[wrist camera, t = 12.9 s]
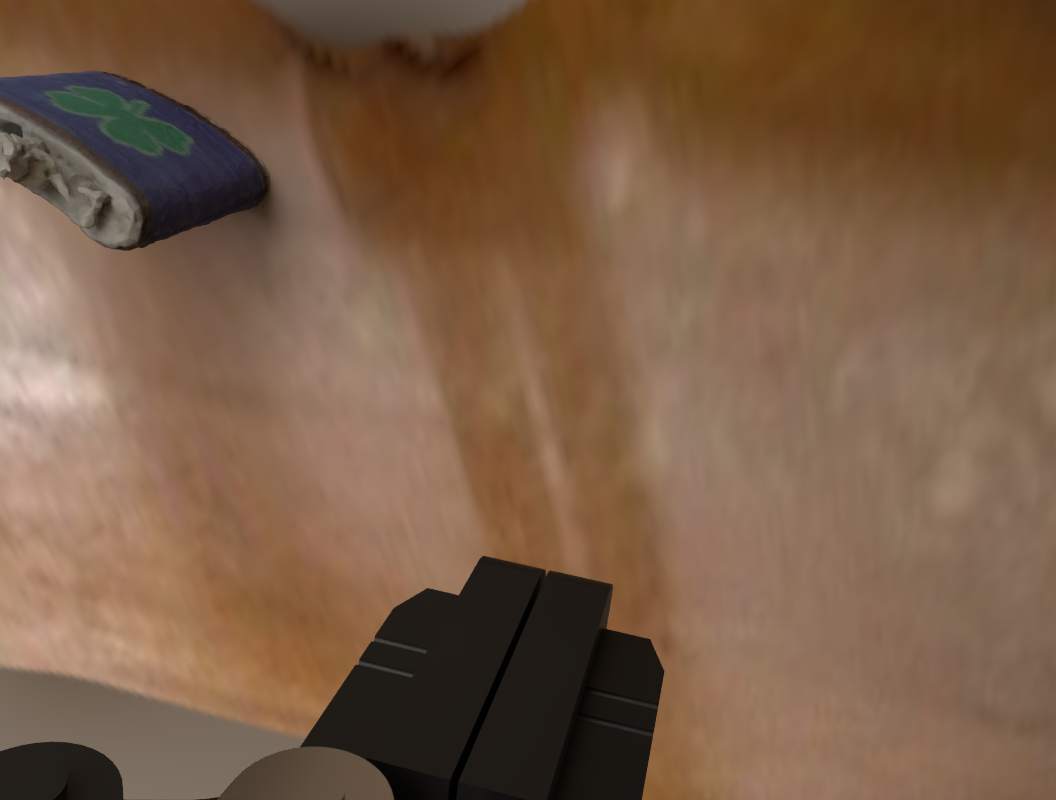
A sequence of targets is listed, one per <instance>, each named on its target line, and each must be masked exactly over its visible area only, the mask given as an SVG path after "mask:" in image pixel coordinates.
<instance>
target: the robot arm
mask: <svg viewBox="0 0 1056 800" xmlns="http://www.w3.org/2000/svg"><path fill="white" fill-rule="evenodd" d="M612 590H613V584H609V583H604V582H600V581H595V580H591V579H586V578H582V577H577V576H573V575H568V574H564V573H559V572H555V571H549V572H548V574H547V576H546V571H545V569H540V568H536V567H531V566H527V565H522V564H518V563H513V562H509V561H504V560H500V559H496V558H491V557H487V556H482V557H481V558H480V560H479V561H478V563H477V565H476V566H475V568H474V570H473V572H472V573H471V575H470V577H469V579H468V580H467V582H466V584H465V586H464V587H463V589H462V591H461V593H460V594H459V595H455V594H451V593H446V592H442V591H438V590H433V589H429V588H427V589H425V590H424V591H422V592H420V593H419V594H417V595H415V596H413V597H412V598H410V599H408V600H407V601H405V602H403V603H402V604H400V605H398V606H396V607H395V608H394V609H393V610H392V612H391V613H390V615H389V616H388V618H387V619H386V620H385V622H384V623H383V625H382V626H381V628H380V629H379V631H378V632H377V634H376V635H375V639H374V642H372V641H371V643H370V644H369V646H368V647H367V649H366V650H365V652H364V653H363V655H362V656H361V658H360V659H359V664H358V665H355V666H354V668H353V669H352V671H351V672H350V674H349V675H348V677H347V678H346V680H345V681H344V683H343V684H342V686H341V687H340V689H339V690H338V692H337V693H336V695H335V696H334V698H333V699H332V701H331V702H330V703H329V705H328V706H327V708H326V709H325V711H324V712H323V714H322V715H321V717H320V718H319V720H318V721H317V723H316V724H315V726H314V727H313V729H312V730H311V732H310V733H309V735H308V736H307V738H306V739H305V741H304V742H303V743H302V745H301V746H300V748H293V749H288V750H284V751H280V752H277V753H274V754H271V755H269V756H266V757H264V758H262V759H260V760H259V761H257V762H255V763H253V764H252V765H250V766H249V767H248V768H246V769H245V770H244V771H242V772H241V773H240V774H239V775H238V776H237V777H236V778H235V779H234V780H233V782H232V783H231V784H230V785H229V786H228V787H227V789H226V790H225V791H224V792H223V793H222V794H221V795H220V797H217V798H210V799H198V800H642V795H643V789H644V784H645V778H646V772H647V767H648V761H649V755H650V750H651V744H652V738H653V733H654V727H655V721H656V716H657V710H658V704H659V699H660V693H661V687H662V682H663V676H664V670H663V667H662V665H661V663H660V661H659V658H658V656H657V654H656V651H655V649H654V647H653V645H652V642H651V640H650V639H647V638H643V637H638V636H634V635H630V634H625V633H621V632H617V631H612V630H608V629H606V628H607V622H608V616H609V610H610V604H611V598H612ZM0 800H123V785H122V778H121V775H120V773H119V770H118V769H117V767H116V766H115V765H114V764H113V762H112V761H111V760H110V759H109V758H107V757H106V756H105V755H104V754H102V753H100V752H98V751H96V750H94V749H92V748H89V747H86V746H83V745H78V744H73V743H67V742H43V743H33V744H27V745H21V746H18V747H14V748H10V749H7V750H3V751H0Z"/></svg>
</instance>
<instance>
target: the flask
mask: <svg viewBox="0 0 1056 800" xmlns="http://www.w3.org/2000/svg"><path fill="white" fill-rule="evenodd" d="M0 176H1V177H2V178H3V179H5V177H9V178H11V179H12V180H13V181H14V182H16V183H19V184H21V185H22V186H24V187H26V188H28V189H29V190H31V191H32V192H33V193H35V194H37V195H39V196H41V197H42V198H44V199H45V200H47V201H48V202H50V203H51V204H52V205H53V206H55V207H56V208H58V209H59V210H61V211H62V212H63V213H65V214H66V215H67V216H68V217H69V218H70V219H71V220H72V221H73V223H75V224H77V225H79V227H80V228H81V230H82V231H83V232H84V233H85V235H86V236H88V237H89V238H91V239H93V240H94V241H96V242H97V243H99V244H101V245H102V246H104V247H107V248H111V249H119V250H132V249H134V248H138V247H139V248H143V247H146V246H147V245H149V244H151V243H154V242H156V241H159V240H163V239H167V238H169V237H171V236H173V235H176V234H178V233H180V232H182V231H186V230H190V229H191V228H193V227H196V226H201V225H206V224H209V223H210V222H212V221H215V220H217V219H220V218H222V217H224V216H226V215H229V214H232V213H236V212H239V211H243V210H246V209H250V208H253V207H255V206H261V207H263V202H262V201H263V200H264V198H265V195H266V194H267V192H268V190H269V188H270V185H269V177H270V176H269V173H268V172H267V171H266V169H265V167H264V165H263V163H262V161H260V160H259V159H257V157H256V156H255V154H254V153H253V152H252V151H251V150H250V149H249V148H248V147H247V146H245V145H244V144H243V143H241V142H240V141H239V140H237V139H235V137H233V136H232V134H230V133H229V132H228V131H227V130H226V129H224V128H220V126H218V125H217V124H216V122H215V121H211V120H210V118H208V117H207V116H206V115H202V114H200V113H198V112H196V110H195V109H193V108H190V107H189V106H187V105H183V104H180V103H179V102H176V101H175V100H173V98H172V99H171V98H169V97H167V96H164V95H163V94H161V93H159V92H156V91H155V90H153V89H148V88H147V87H145V86H144V85H142V84H141V83H137V82H136V81H132V80H129V79H127V78H125V77H122V76H121V75H119V76H117V75H115V74H109V73H107V72H99V71H85V72H81V73H60V74H50V75H39V76H30V75H29V76H21V77H0Z"/></svg>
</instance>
